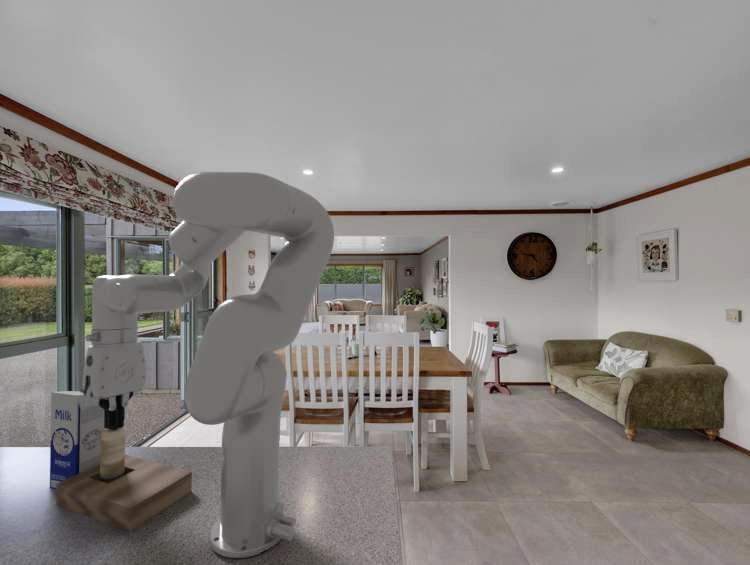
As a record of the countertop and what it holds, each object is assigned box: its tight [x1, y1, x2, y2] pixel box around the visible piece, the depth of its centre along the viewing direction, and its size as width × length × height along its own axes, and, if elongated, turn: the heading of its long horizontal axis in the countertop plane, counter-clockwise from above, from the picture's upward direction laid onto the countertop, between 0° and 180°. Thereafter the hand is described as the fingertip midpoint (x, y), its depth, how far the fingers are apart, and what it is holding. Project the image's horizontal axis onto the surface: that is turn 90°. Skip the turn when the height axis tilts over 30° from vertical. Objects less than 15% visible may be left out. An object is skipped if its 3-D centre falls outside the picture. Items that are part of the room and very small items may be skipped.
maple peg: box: [100, 425, 126, 484], centre depth 74 cm, size 4×4×12 cm
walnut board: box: [55, 454, 193, 532], centre depth 73 cm, size 20×13×4 cm, turn 70°
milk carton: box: [49, 386, 105, 490], centre depth 78 cm, size 7×7×20 cm
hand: (114, 427), depth 74 cm, fingers closed
